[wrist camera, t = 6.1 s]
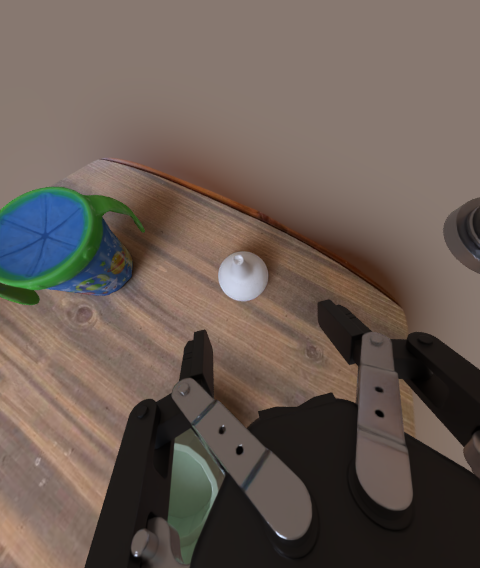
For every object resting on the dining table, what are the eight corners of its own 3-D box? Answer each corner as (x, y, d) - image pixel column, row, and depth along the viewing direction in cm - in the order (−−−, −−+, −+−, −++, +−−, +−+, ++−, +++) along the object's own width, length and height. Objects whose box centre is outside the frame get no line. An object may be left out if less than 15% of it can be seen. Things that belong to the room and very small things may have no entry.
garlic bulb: (272, 265, 27) (281, 234, 20) (260, 308, 25) (264, 293, 18) (228, 253, 28) (220, 219, 20) (213, 295, 26) (199, 275, 19)
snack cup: (144, 216, 30) (94, 157, 21) (175, 270, 28) (134, 230, 18) (46, 269, 29) (-59, 231, 19) (69, 333, 26) (-41, 327, 16)
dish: (217, 412, 22) (208, 431, 18) (235, 514, 20) (230, 568, 15) (138, 432, 22) (108, 457, 17) (146, 538, 19) (112, 601, 15)
